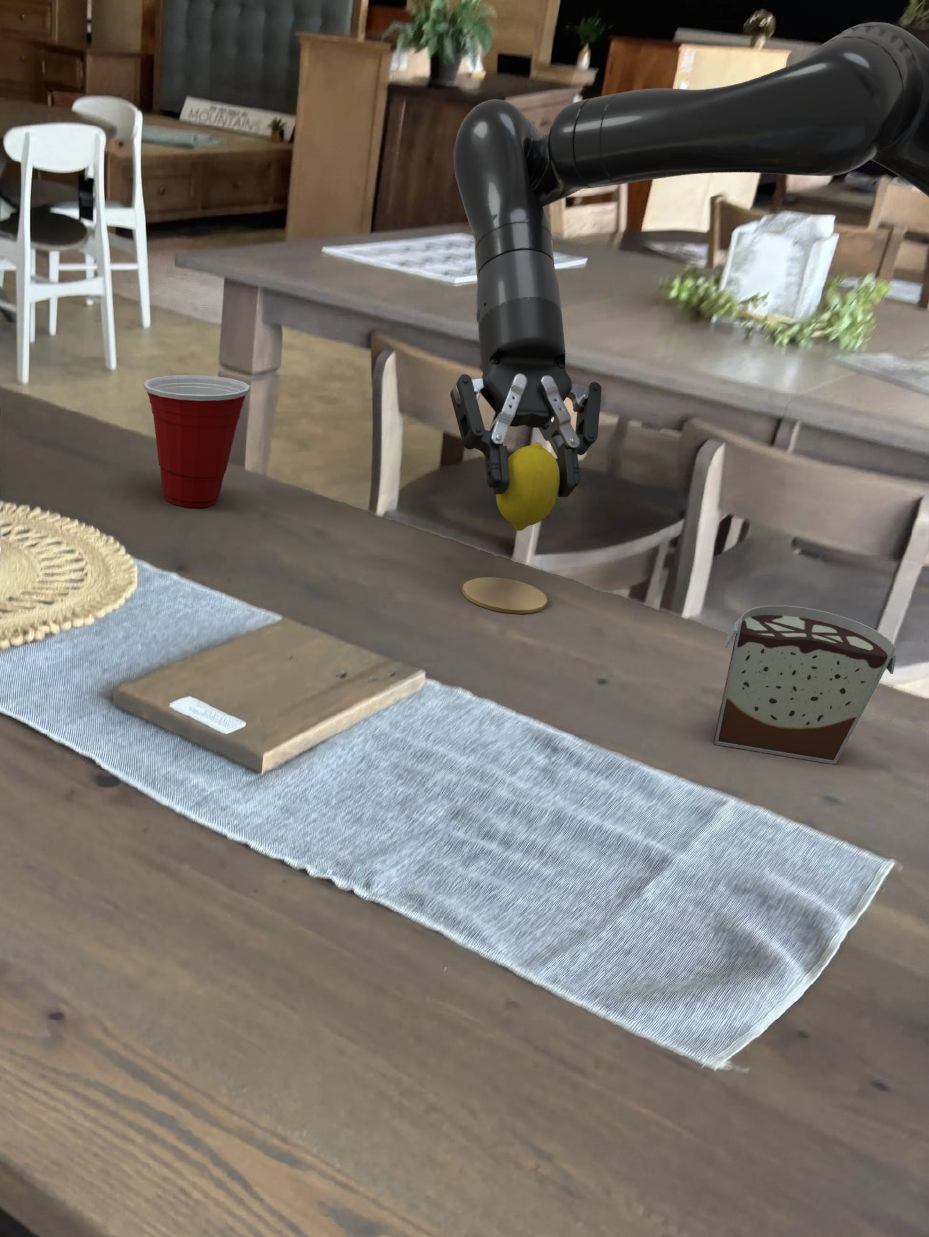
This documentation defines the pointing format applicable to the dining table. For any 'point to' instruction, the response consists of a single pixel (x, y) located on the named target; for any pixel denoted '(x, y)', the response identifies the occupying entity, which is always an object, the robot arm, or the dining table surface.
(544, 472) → the lemon
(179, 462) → the plastic cup
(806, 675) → the food container
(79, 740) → the dining table surface
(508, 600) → the coaster
